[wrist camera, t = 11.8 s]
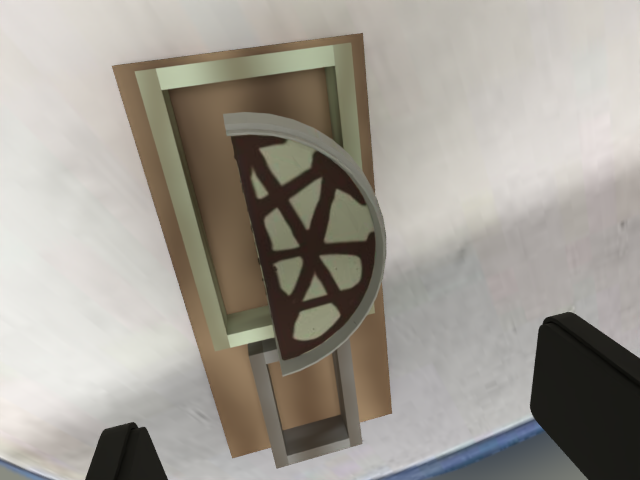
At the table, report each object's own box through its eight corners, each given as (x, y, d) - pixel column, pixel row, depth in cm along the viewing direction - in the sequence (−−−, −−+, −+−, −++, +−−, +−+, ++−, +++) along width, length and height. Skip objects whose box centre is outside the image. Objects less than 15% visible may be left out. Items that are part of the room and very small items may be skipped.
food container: (349, 266, 29) (405, 352, 20) (265, 286, 28) (284, 385, 19) (326, 85, 24) (387, 90, 15) (223, 102, 23) (222, 118, 14)
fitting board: (356, 35, 25) (377, 28, 21) (386, 403, 36) (403, 436, 33) (117, 66, 23) (98, 64, 19) (232, 446, 34) (232, 486, 31)
